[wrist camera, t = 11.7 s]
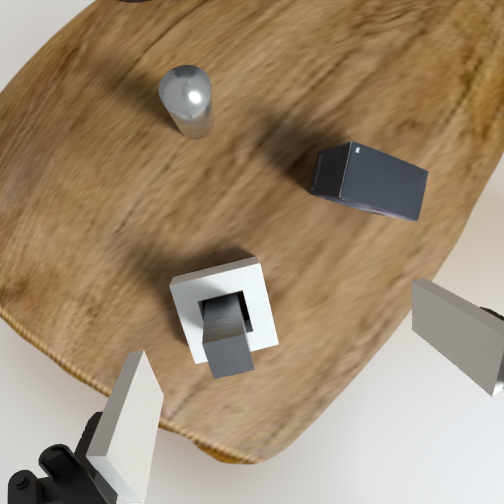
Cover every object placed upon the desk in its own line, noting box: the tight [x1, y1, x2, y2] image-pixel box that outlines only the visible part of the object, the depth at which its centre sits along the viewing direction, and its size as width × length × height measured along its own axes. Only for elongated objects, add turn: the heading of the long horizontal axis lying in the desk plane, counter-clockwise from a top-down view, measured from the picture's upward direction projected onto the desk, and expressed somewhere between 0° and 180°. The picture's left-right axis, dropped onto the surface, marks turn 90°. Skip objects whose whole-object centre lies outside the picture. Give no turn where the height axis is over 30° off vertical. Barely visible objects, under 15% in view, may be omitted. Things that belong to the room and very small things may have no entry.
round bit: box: [159, 65, 213, 139], centre depth 30 cm, size 4×4×14 cm
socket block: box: [169, 256, 279, 364], centre depth 40 cm, size 11×11×4 cm
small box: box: [310, 141, 428, 221], centre depth 35 cm, size 11×6×10 cm, turn 77°
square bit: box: [202, 292, 255, 379], centre depth 35 cm, size 4×4×14 cm
